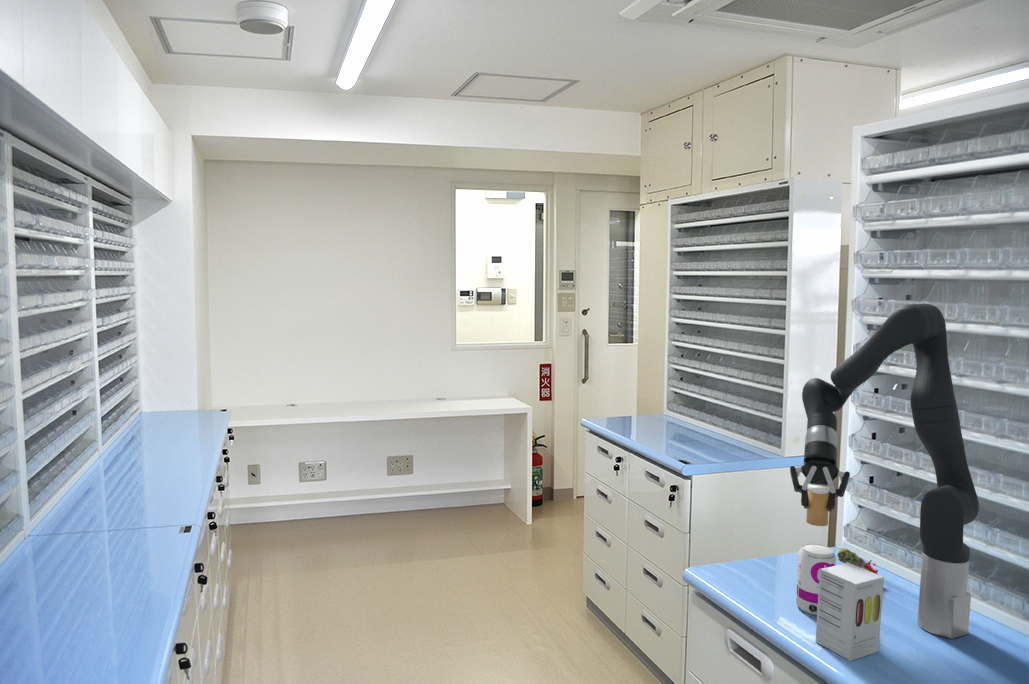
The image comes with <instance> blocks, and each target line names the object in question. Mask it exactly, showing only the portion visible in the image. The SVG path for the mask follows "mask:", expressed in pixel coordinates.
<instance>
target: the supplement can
mask: <svg viewBox="0 0 1029 684" xmlns="http://www.w3.org/2000/svg"><path fill="white" fill-rule="evenodd" d="M836 562H837V557H836V554H835V552H834V549H833V548H831V547H830V546H827V545H824V544H820V543H815V542H814V543H812V542H811V543H804V544H802V546H801V548H800V549H799V551H798V564H797V565H798V566H797V581H796V583H797V584H796V598H795V600H796V602H795V603H796V606H798V608H799V609H800V610H801V611H802V612H804V613H807V614H810V615H812V616H813V615H815V616H817V610H818V593H819V578H820V569H822V568H827V567H832V566H836V565H837V563H836Z"/></svg>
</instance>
